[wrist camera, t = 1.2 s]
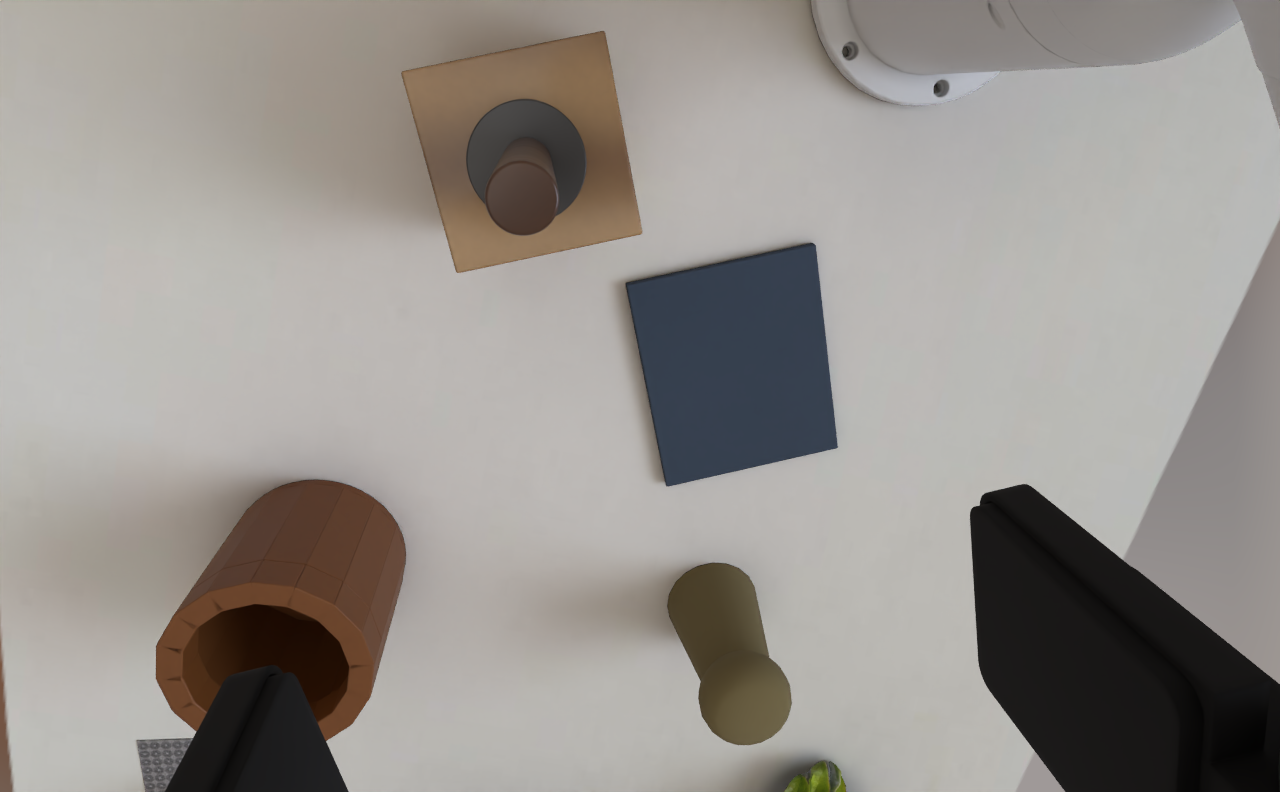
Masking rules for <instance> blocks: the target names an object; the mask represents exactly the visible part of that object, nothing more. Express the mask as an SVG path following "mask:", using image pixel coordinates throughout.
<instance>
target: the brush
mask: <svg viewBox="0 0 1280 792" xmlns="http://www.w3.org/2000/svg"><path fill="white" fill-rule="evenodd" d="M466 165H467V171H468V176H469V179H470V182H471V184H472V186H473V188H474V190H475V192H476V194H477V195H478V197H479V198H480V199H481V200H482V202H483V203H484V204H485V205H486V208H487V211H488V213H489V216H490V217H491V219H492V220H493V221H494V223H495V224H496V225H497V226H498V227H500V228H501V229H502V230H504V231H506V232H508V233H510V234H514V235H519V236H528V235H533V234H536V233H538V232H540V231H542V230H544V229H545V228H546V227H548V226H549V224H550V223H551V222H552V221H553V219H554V218H555V216H557V215H559V214H560V213H562V212H563V211H564V210H566V209H567V208H568V207H569V206H570V205H571V204H572V203H573V202H574V200H575V199H576V197H577V196H578V194H579V192H580V190H581V188H582V186H583V183H584V179H585V175H586V168H587V160H586V152H585V147H584V144H583V141H582V139H581V136H580V134H579V132H578V131H577V129H576V127H575V126H574V125H573V123H572V122H571V121H570V120H569V119H568V118H567V117H566V116H565V115H564V114H563V113H562V112H560V111H559V110H558V109H556V108H555V107H553V106H551V105H549V104H547V103H545V102H542V101H539V100H534V99H516V100H512V101H508V102H505V103H502V104H500V105H498V106H496V107H494V108H493V109H491V110H490V111H489V112H487V113H486V114H485V115H484V116H483V117H482V118H481V119H480V120H479V122H478V123H477V125H476V126H475V128H474V130H473V132H472V134H471V136H470V139H469V142H468V146H467V153H466Z"/></svg>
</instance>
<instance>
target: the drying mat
mask: <svg viewBox="0 0 1280 792" xmlns="http://www.w3.org/2000/svg"><path fill="white" fill-rule="evenodd" d="M626 288H627V293H628V298H629V303H630V308H631V313H632V318H633V323H634V328H635V333H636V338H637V343H638V348H639V353H640V358H641V363H642V368H643V373H644V378H645V383H646V388H647V393H648V398H649V403H650V408H651V413H652V418H653V423H654V428H655V433H656V438H657V443H658V448H659V453H660V458H661V463H662V468H663V473H664V478H665V483H666V486H672V485H677V484H681V483H685V482H690V481H694V480H699V479H703V478H707V477H712V476H716V475H721V474H725V473H729V472H734V471H738V470H743V469H747V468H751V467H756V466H760V465H765V464H769V463H773V462H778V461H782V460H787V459H791V458H796V457H800V456H804V455H809V454H813V453H818V452H822V451H826V450H831V449H835V448H838V446H837V437H836V427H835V418H834V409H833V400H832V391H831V382H830V373H829V364H828V354H827V345H826V336H825V327H824V318H823V309H822V300H821V291H820V281H819V272H818V263H817V254H816V245H815V244H813V243H810V244H805V245H800V246H796V247H791V248H786V249H782V250H777V251H773V252H768V253H763V254H759V255H754V256H749V257H745V258H740V259H735V260H731V261H726V262H721V263H717V264H712V265H707V266H703V267H698V268H694V269H689V270H684V271H680V272H675V273H670V274H666V275H661V276H656V277H652V278H647V279H642V280H638V281H633V282H628V283H626Z"/></svg>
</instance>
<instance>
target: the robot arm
mask: <svg viewBox="0 0 1280 792" xmlns="http://www.w3.org/2000/svg"><path fill="white" fill-rule="evenodd" d="M811 6H812V14H813V18H814V21H815V25H816V28H817V32H818V35H819V38H820V40H821V42H822V44H823V46H824V48H825V50H826V52H827V54H828V56H829V58H830V59H831V61H832V62H833V63H834V64H835V66H836V67H837V68H838V70H839V71H840V72H841V74H842V75H843V76H844V77H845V78H847V79H848V80H849V81H850V82H851V83H852V84H854V85H855V86H856V87H857V88H858V89H860V90H861V91H863V92H865V93H867V94H869V95H871V96H873V97H875V98H876V99H879V100H882V101H886V102H890V103H893V104H897V105H908V106H925V105H937V104H941V103H945V102H949V101H953V100H957V99H959V98H961V97H963V96H965V95H967V94H969V93H971V92H974V91H976V90H978V89H979V88H980V87H982V86H983V85H985V84H986V83H987V82H989V81H990V80H992V79H993V78H994V77H996V76H997V75H998V74H999V73H1000V72H1001V71H1018V70H1039V69H1060V68H1081V67H1100V66H1118V65H1135V64H1142V63H1148V62H1153V61H1159V60H1162V59H1166V58H1169V57H1173V56H1175V55H1178V54H1181V53H1184V52H1187V51H1189V50H1191V49H1194V48H1196V47H1198V46H1200V45H1202V44H1204V43H1206V42H1207V41H1209V40H1211V39H1213V38H1214V37H1216V36H1218V35H1219V34H1221V33H1222V32H1224V31H1226V30H1227V29H1229V28H1230V27H1232V26H1233V25H1235V24H1236V23H1238V22H1239V21H1240V20H1242V22H1243V25H1244V28H1245V31H1246V34H1247V37H1248V40H1249V43H1250V46H1251V49H1252V53H1253V56H1254V59H1255V62H1256V65H1257V67H1258V68H1259V70H1260V71H1261V72H1262V74H1263V77H1264V80H1265V84H1266V87H1267V90H1268V93H1269V96H1270V99H1271V102H1272V105H1273V109H1274V112H1275V115H1276V118H1277V121H1278V124H1279V127H1280V0H811ZM845 46H846V47H847V48H848V55H847V56H846V57H844V56H843V54H842V49H843V47H845ZM935 84H936V85H937V87H938V88H937V91H936V92H935V93H934V91H933V88H934V85H935ZM970 525H971V542H972V559H973V576H974V594H975V611H976V628H977V645H978V661H979V667H980V671H981V674H982V677H983V679H984V682H985V684H986V686H987V687H988V689H989V690H990V692H991V693H992V695H993V696H994V697H995V699H996V700H997V701H998V703H999V704H1000V705H1001V707H1002V708H1003V709H1004V711H1005V712H1006V713H1007V715H1008V716H1009V717H1010V719H1011V720H1012V721H1013V723H1014V724H1015V725H1016V727H1017V728H1018V729H1019V731H1020V732H1021V733H1022V735H1023V736H1024V737H1025V739H1026V740H1027V741H1028V743H1029V744H1030V745H1031V746H1032V748H1033V749H1034V750H1035V752H1036V753H1037V754H1038V755H1039V757H1040V758H1041V760H1042V761H1043V762H1044V764H1045V765H1046V766H1047V768H1048V769H1049V770H1050V772H1051V773H1052V774H1053V776H1054V777H1055V778H1056V780H1057V781H1058V782H1059V784H1060V785H1061V786H1062V788H1063V789H1064V790H1065V792H1280V684H1278V683H1277V682H1276V681H1275V680H1273V679H1272V678H1271V677H1270V676H1269V675H1267V674H1266V673H1265V672H1263V671H1262V670H1261V669H1260V668H1258V667H1257V666H1256V665H1255V664H1253V663H1252V662H1251V661H1250V660H1249V659H1247V658H1246V657H1245V656H1243V655H1242V654H1241V653H1240V652H1239V651H1237V650H1236V649H1235V648H1234V647H1232V646H1231V645H1230V644H1229V643H1227V642H1226V641H1225V640H1224V639H1222V638H1221V637H1220V636H1219V635H1217V634H1216V633H1215V632H1213V631H1212V630H1211V629H1210V628H1209V627H1207V626H1206V625H1205V624H1204V623H1203V622H1201V621H1200V620H1199V619H1197V618H1196V617H1195V616H1194V615H1192V614H1191V613H1190V612H1189V611H1188V610H1186V609H1185V608H1184V607H1182V606H1181V605H1180V604H1179V603H1177V602H1176V601H1175V600H1174V599H1173V598H1171V597H1170V596H1169V595H1168V594H1166V593H1165V592H1164V591H1163V590H1161V589H1160V588H1159V587H1158V586H1156V585H1155V584H1154V583H1153V582H1151V581H1150V580H1149V579H1147V578H1146V577H1145V576H1144V575H1143V574H1141V573H1140V572H1139V571H1138V570H1136V569H1134V568H1133V567H1131V566H1129V565H1128V564H1127V563H1126V562H1124V561H1123V560H1122V559H1121V558H1119V557H1118V556H1117V555H1116V554H1115V553H1113V552H1112V551H1111V550H1110V549H1108V548H1107V547H1106V546H1105V545H1103V544H1102V543H1101V542H1100V541H1098V540H1097V539H1096V538H1095V537H1093V536H1092V535H1091V534H1090V533H1088V532H1087V531H1086V530H1085V529H1083V528H1082V527H1081V526H1080V525H1078V524H1077V523H1076V522H1075V521H1074V520H1072V519H1071V518H1070V517H1069V516H1067V515H1066V514H1065V513H1064V512H1062V511H1061V510H1060V509H1059V508H1057V507H1056V506H1055V505H1054V504H1052V503H1051V502H1050V501H1049V500H1047V499H1046V498H1045V497H1044V496H1042V495H1041V494H1040V493H1039V492H1037V491H1036V490H1035V489H1034V488H1033V487H1031V486H1029V485H1027V484H1021V485H1017V486H1013V487H1009V488H1005V489H1001V490H997V491H992V492H988V493H985V494H984V495H983V496H982V498H981V500H980V506H976V507H973V508H972V509H971V512H970ZM165 792H348V789H347V787H346V785H345V783H344V781H343V778H342V776H341V774H340V772H339V769H338V767H337V765H336V763H335V761H334V758H333V756H332V754H331V752H330V749H329V747H328V745H327V743H326V741H325V738H324V736H323V734H322V732H321V730H320V727H319V725H318V723H317V721H316V718H315V716H314V714H313V712H312V710H311V707H310V705H309V703H308V701H307V698H306V696H305V694H304V692H303V690H302V687H301V685H300V683H299V681H298V679H297V677H296V676H295V675H294V674H293V673H291V672H287V673H283V672H282V670H281V669H280V668H279V667H278V666H275V665H269V666H265V667H261V668H257V669H253V670H248V671H244V672H240V673H236V674H232V675H230V676H228V677H227V678H226V679H225V681H224V682H223V683H222V685H221V687H220V689H219V691H218V693H217V695H216V697H215V698H214V700H213V702H212V704H211V706H210V708H209V710H208V712H207V713H206V715H205V717H204V719H203V721H202V723H201V725H200V726H199V728H198V730H197V732H196V734H195V736H194V738H193V740H192V741H191V743H190V745H189V747H188V749H187V751H186V753H185V755H184V756H183V758H182V760H181V762H180V764H179V766H178V768H177V769H176V771H175V773H174V775H173V777H172V779H171V781H170V783H169V784H168V786H167V788H166V790H165Z"/></svg>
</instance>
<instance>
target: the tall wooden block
mask: <svg viewBox="0 0 1280 792" xmlns="http://www.w3.org/2000/svg"><path fill="white" fill-rule="evenodd" d="M401 74H402V78H403V82H404V85H405V89H406V93H407V96H408V100H409V103H410V107H411V111H412V114H413V118H414V121H415V125H416V129H417V132H418V136H419V139H420V143H421V147H422V150H423V154H424V158H425V161H426V165H427V168H428V172H429V176H430V179H431V183H432V186H433V190H434V194H435V197H436V201H437V204H438V208H439V212H440V215H441V219H442V223H443V226H444V230H445V233H446V237H447V241H448V244H449V248H450V251H451V255H452V259H453V262H454V266H455V270H456V272H457V273H461V272H466V271H471V270H475V269H480V268H485V267H489V266H494V265H499V264H504V263H508V262H513V261H518V260H522V259H527V258H532V257H537V256H541V255H546V254H551V253H555V252H560V251H565V250H569V249H574V248H579V247H584V246H588V245H593V244H598V243H602V242H607V241H612V240H616V239H621V238H626V237H631V236H635V235H640V234H642V227H641V222H640V216H639V211H638V206H637V200H636V195H635V190H634V184H633V179H632V174H631V168H630V163H629V158H628V152H627V147H626V142H625V136H624V131H623V126H622V120H621V115H620V110H619V104H618V99H617V94H616V88H615V83H614V78H613V72H612V67H611V62H610V56H609V51H608V46H607V40H606V35H605V32H604V31H600V32H595V33H590V34H585V35H580V36H575V37H570V38H565V39H560V40H555V41H550V42H545V43H540V44H535V45H530V46H525V47H520V48H515V49H510V50H505V51H500V52H495V53H490V54H485V55H480V56H475V57H470V58H465V59H460V60H455V61H450V62H445V63H441V64H436V65H431V66H426V67H421V68H416V69H411V70H406V71H402V73H401ZM516 99H534V100H539V101H542V102H545V103H547V104H549V105H551V106H553V107H555V108H556V109H558V110H559V111H560V112H562V113H563V114H564V115H565V116H566V117H567V118H568V119H569V120H570V121H571V122H572V123H573V125H574V126H575V127H576V129H577V131H578V132H579V134H580V136H581V139H582V141H583V144H584V147H585V152H586V160H587V168H586V175H585V179H584V183H583V186H582V188H581V190H580V192H579V194H578V196H577V197H576V199H575V200H574V202H573V203H572V204H571V205H570V206H569V207H568V208H567V209H566V210H564V211H563V212H562V213H560V214H559V215H557V216H555V218H554V219H553V221H552V222H551V223H550V224H549V226H548V227H546V228H545V229H544V230H542V231H540V232H538V233H536V234H533V235H528V236H519V235H514V234H510V233H508V232H506V231H504V230H502V229H501V228H500V227H498V226H497V225H496V224H495V223H494V221H493V220H492V219H491V217H490V216H489V213H488V211H487V208H486V205H485V204H484V203H483V202H482V200H481V199H480V198H479V197H478V195H477V194H476V192H475V190H474V188H473V186H472V184H471V182H470V179H469V176H468V171H467V165H466V153H467V146H468V142H469V139H470V136H471V134H472V132H473V130H474V128H475V126H476V125H477V123H478V122H479V120H480V119H481V118H482V117H483V116H484V115H485V114H486V113H487V112H489V111H490V110H491V109H493V108H494V107H496V106H498V105H500V104H502V103H505V102H508V101H512V100H516Z"/></svg>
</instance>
